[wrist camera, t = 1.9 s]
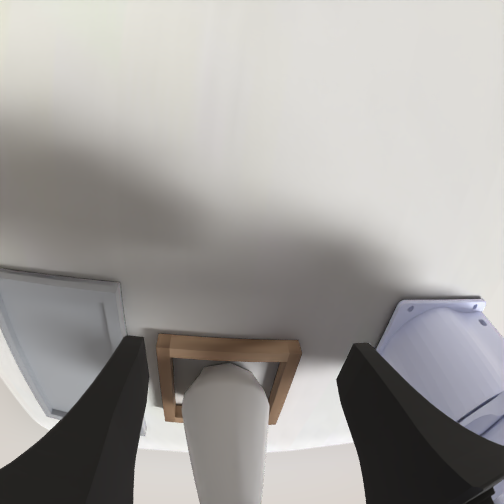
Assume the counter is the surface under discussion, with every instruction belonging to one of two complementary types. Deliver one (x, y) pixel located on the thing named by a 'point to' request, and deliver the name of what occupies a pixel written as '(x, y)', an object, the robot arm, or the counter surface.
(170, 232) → the counter surface
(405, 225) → the counter surface
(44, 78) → the counter surface
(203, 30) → the counter surface
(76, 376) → the grey tray
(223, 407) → the salt shaker
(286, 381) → the walnut collar
